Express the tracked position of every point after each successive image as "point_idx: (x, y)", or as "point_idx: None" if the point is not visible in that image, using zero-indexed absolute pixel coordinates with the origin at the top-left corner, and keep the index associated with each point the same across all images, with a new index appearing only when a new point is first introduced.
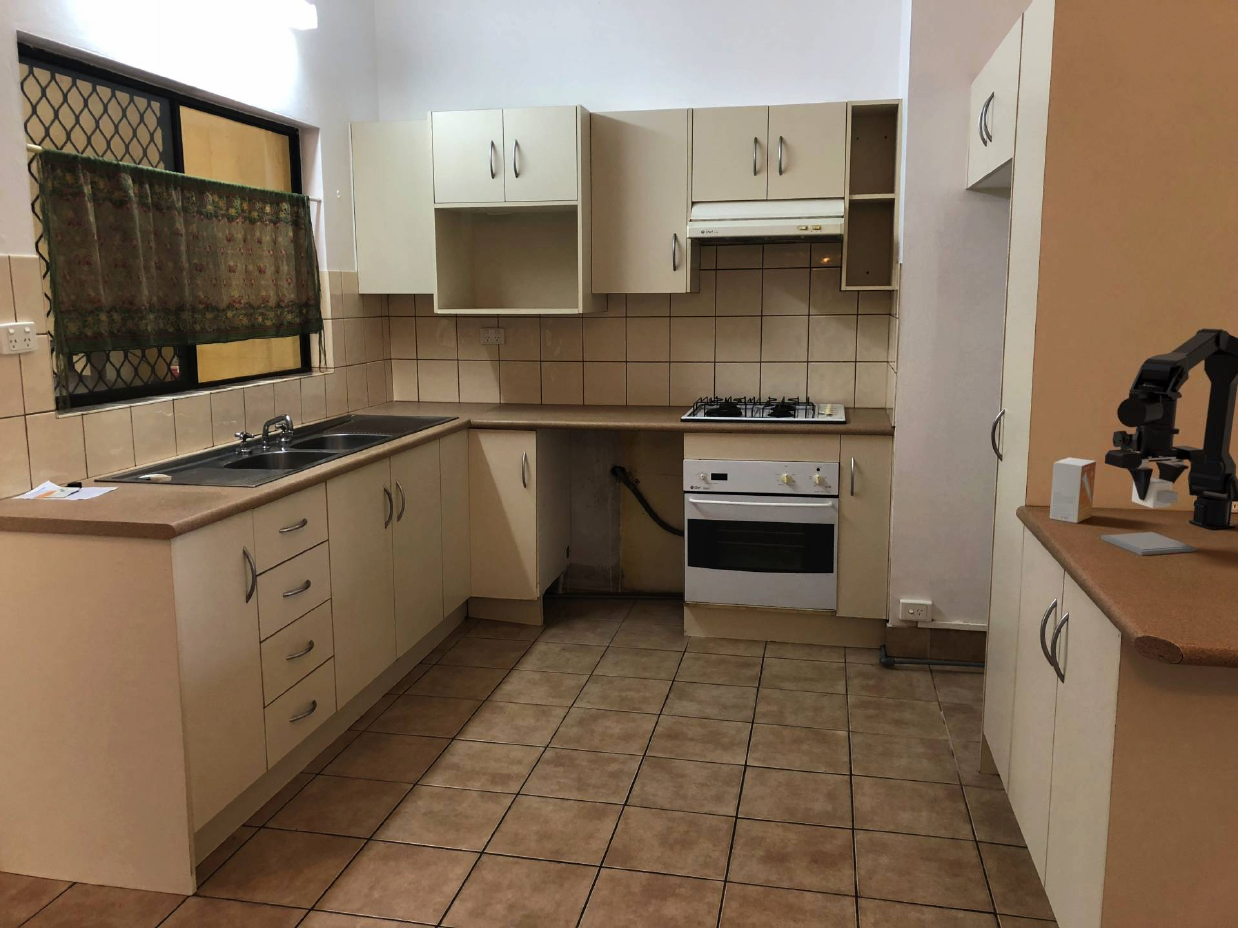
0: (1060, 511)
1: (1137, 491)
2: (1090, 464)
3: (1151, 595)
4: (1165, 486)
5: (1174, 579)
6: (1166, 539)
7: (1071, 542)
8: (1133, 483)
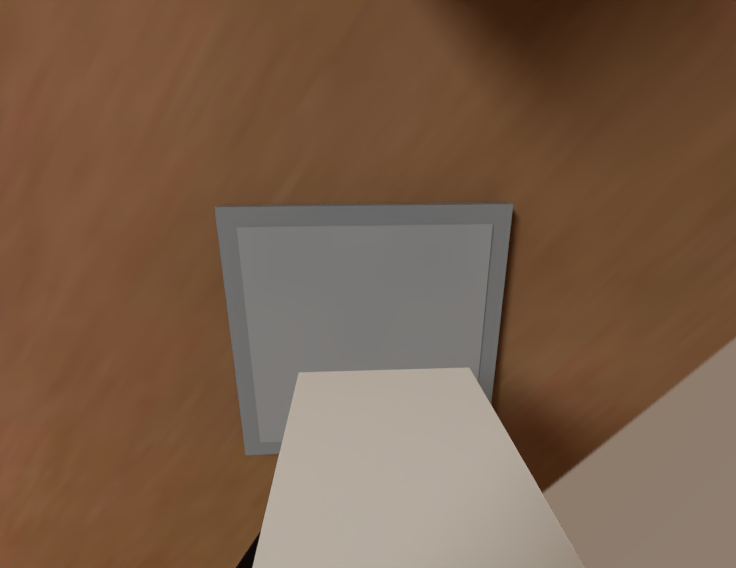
0: None
1: (245, 561)
2: None
3: None
4: None
5: None
6: (463, 341)
7: (44, 221)
8: (267, 514)
